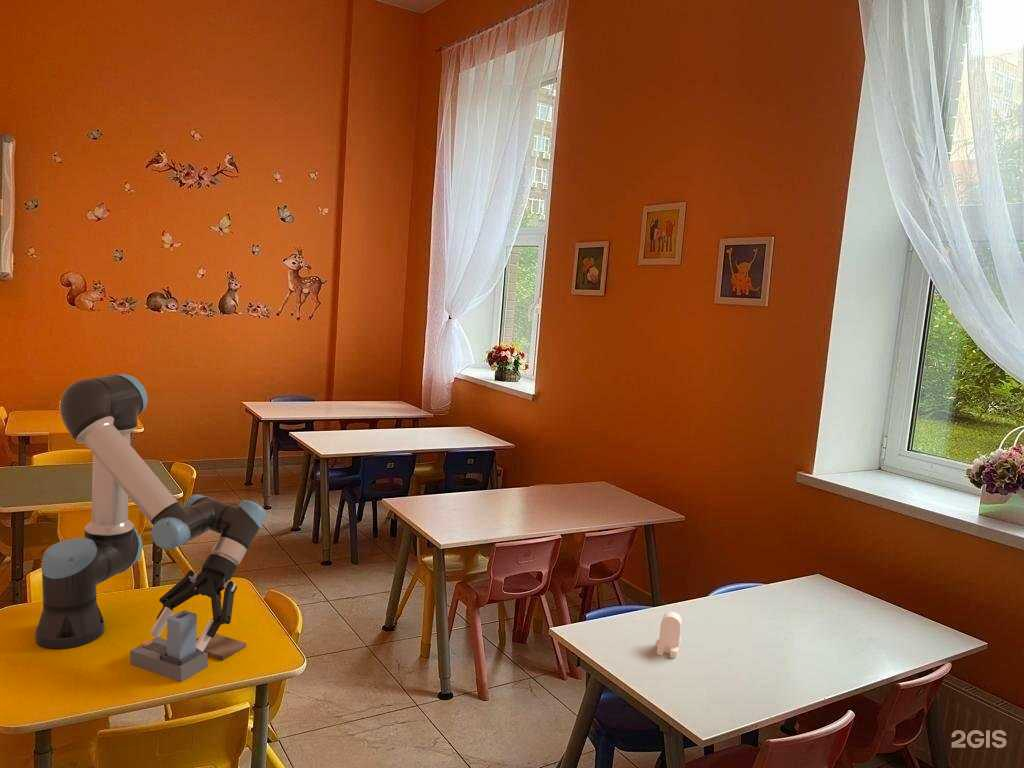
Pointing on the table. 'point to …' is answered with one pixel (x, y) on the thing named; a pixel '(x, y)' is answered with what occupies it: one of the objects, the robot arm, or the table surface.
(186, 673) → the grey rectangular box
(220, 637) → the walnut board
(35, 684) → the table surface
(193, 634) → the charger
